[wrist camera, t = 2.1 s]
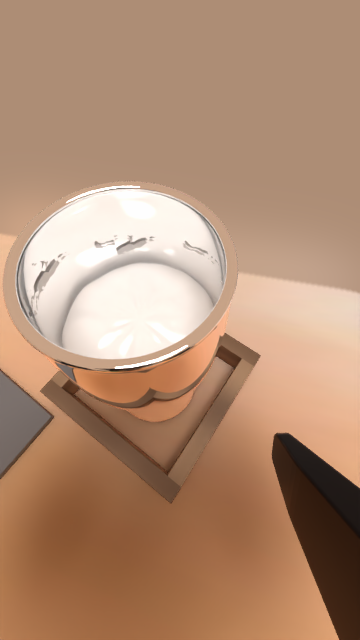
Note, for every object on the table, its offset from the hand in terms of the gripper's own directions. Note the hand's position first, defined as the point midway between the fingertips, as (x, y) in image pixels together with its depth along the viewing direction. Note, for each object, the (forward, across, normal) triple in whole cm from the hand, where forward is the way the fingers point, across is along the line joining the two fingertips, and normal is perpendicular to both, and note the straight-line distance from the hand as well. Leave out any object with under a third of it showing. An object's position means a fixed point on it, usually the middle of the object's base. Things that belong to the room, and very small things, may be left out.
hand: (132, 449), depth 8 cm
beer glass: (+12, 0, +5) cm, 13 cm away
